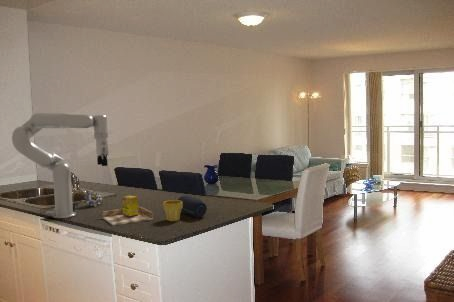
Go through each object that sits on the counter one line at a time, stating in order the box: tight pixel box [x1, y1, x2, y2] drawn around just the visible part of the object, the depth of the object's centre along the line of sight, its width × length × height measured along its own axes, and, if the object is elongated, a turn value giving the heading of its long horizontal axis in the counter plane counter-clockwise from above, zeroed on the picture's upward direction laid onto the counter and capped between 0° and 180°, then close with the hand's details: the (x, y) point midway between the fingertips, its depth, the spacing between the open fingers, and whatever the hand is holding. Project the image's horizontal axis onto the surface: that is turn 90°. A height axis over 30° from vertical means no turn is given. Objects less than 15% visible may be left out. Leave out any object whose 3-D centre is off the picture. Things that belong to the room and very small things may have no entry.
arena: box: [102, 205, 154, 226], centre depth 246 cm, size 22×20×4 cm
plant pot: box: [162, 199, 183, 222], centre depth 241 cm, size 10×10×10 cm
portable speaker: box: [177, 194, 207, 219], centre depth 253 cm, size 25×10×10 cm, turn 29°
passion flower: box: [83, 190, 103, 208], centre depth 286 cm, size 11×11×12 cm
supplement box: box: [122, 195, 139, 218], centre depth 248 cm, size 6×6×11 cm
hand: (102, 165), depth 263 cm, fingers open, 9 cm apart
